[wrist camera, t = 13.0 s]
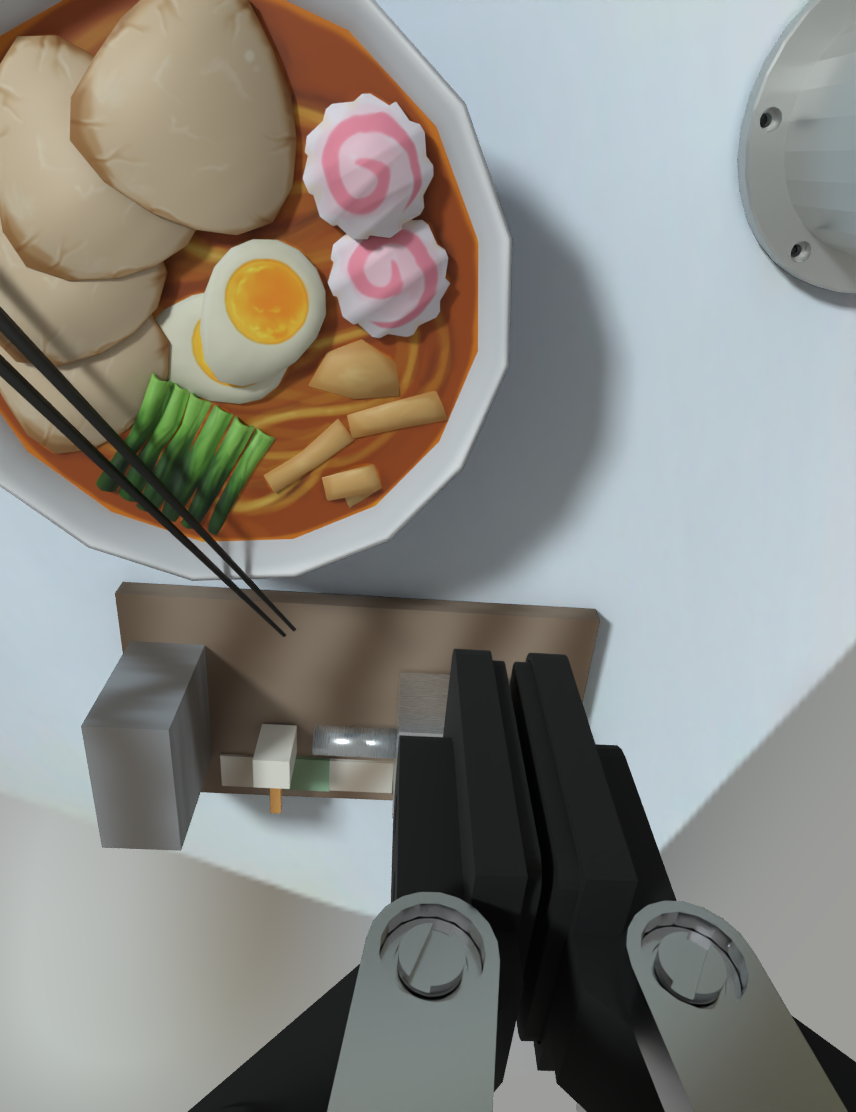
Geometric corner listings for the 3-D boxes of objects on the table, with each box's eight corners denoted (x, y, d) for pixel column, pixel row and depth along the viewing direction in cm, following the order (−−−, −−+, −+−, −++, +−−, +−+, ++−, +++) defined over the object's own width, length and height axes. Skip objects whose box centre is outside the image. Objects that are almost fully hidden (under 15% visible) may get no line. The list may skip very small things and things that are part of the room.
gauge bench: (595, 608, 42) (633, 702, 35) (556, 793, 49) (581, 904, 42) (122, 582, 41) (60, 673, 34) (147, 775, 48) (99, 886, 40)
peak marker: (296, 725, 44) (289, 761, 41) (296, 790, 46) (290, 828, 44) (262, 723, 44) (252, 760, 41) (264, 788, 46) (255, 827, 44)
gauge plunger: (506, 677, 43) (517, 737, 38) (493, 758, 46) (502, 822, 41) (319, 667, 42) (309, 727, 38) (318, 750, 45) (308, 814, 41)
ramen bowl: (600, 363, 36) (647, 415, 29) (236, 602, 42) (200, 695, 35) (253, -229, 26) (193, -375, 19) (-160, 190, 32) (-326, 199, 25)
